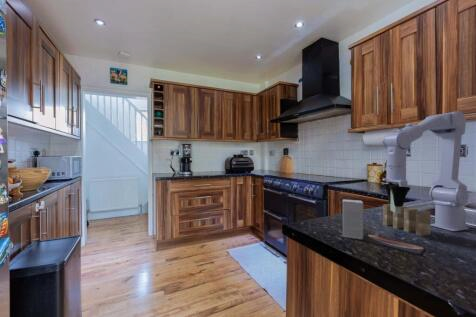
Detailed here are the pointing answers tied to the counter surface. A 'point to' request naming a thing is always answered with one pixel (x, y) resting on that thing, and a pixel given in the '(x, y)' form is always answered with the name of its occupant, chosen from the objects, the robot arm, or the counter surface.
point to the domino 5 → (423, 222)
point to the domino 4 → (410, 219)
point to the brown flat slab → (394, 244)
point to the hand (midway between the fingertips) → (395, 204)
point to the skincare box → (353, 219)
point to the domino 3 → (399, 219)
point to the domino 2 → (393, 207)
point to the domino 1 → (387, 215)
